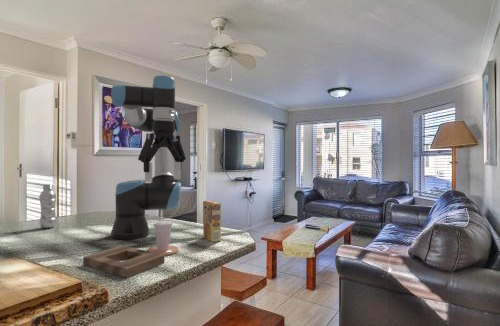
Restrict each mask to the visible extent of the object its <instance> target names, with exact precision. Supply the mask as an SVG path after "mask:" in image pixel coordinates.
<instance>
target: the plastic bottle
mask: <svg viewBox="0 0 500 326" xmlns="http://www.w3.org/2000/svg"><path fill="white" fill-rule="evenodd" d="M53 186H54V184H43V186H42V189H43V190H42V191H41V192H40V194H39V196H38V198H39V199H38V200H39V203H40V217H39V218H40V219H39V227H40V228H42V229H51V228H55V227H56V226H57V223H58V222H57V221H58V220H57V216H56V201H57V194H56V192H55V191H54V187H53Z"/></svg>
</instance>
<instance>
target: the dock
mask: <svg viewBox="0 0 500 326" xmlns="http://www.w3.org/2000/svg"><path fill="white" fill-rule="evenodd" d="M82 259H83V260H82V261H83V263H82V264H84V265H83V266H86V265H87V267H89V266H90V267H89V268H92V267H93V269H96V270H99V271H101V272H106V273H109V274H111V275H112V274H113V275H115V276H119V277H123V278H126V279H128V278H131V277H133V276H135V275H137V274H140V273H143V272H145V271H148V270H151V269H153V268H155V267H158V266H160V265H163V264H165V256H164V255H162V254H158V253H153V252H149V251H146V250H144V249H139V248H136V247H131V246H126V245H122V244H121V245H119V246H116V247H115V246H114V247H112V248H108V249H105V250H102V251H99V252H95V253H94V252H93V253H92V254H88V255H84V256H83V258H82ZM125 259H127V260H125Z"/></svg>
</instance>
